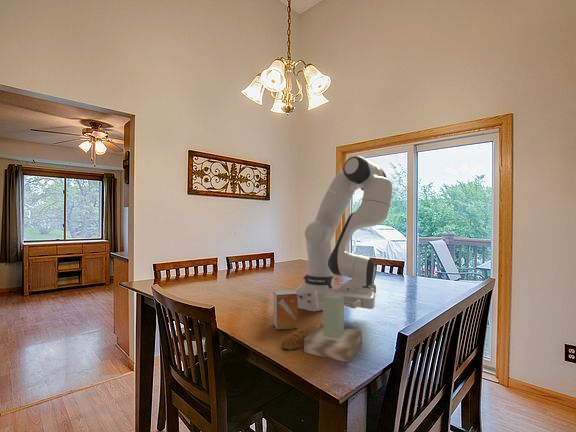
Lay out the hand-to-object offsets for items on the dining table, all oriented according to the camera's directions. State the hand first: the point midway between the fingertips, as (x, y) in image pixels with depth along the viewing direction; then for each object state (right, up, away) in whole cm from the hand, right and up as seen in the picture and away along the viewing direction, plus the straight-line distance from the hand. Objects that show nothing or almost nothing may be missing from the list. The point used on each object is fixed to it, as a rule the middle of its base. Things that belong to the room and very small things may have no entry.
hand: (338, 303), depth 99 cm
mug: (+26, -12, +60) cm, 67 cm away
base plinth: (-2, -12, -5) cm, 13 cm away
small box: (-18, -13, +13) cm, 25 cm away
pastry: (-14, -13, -2) cm, 19 cm away
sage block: (-2, -8, -5) cm, 10 cm away
